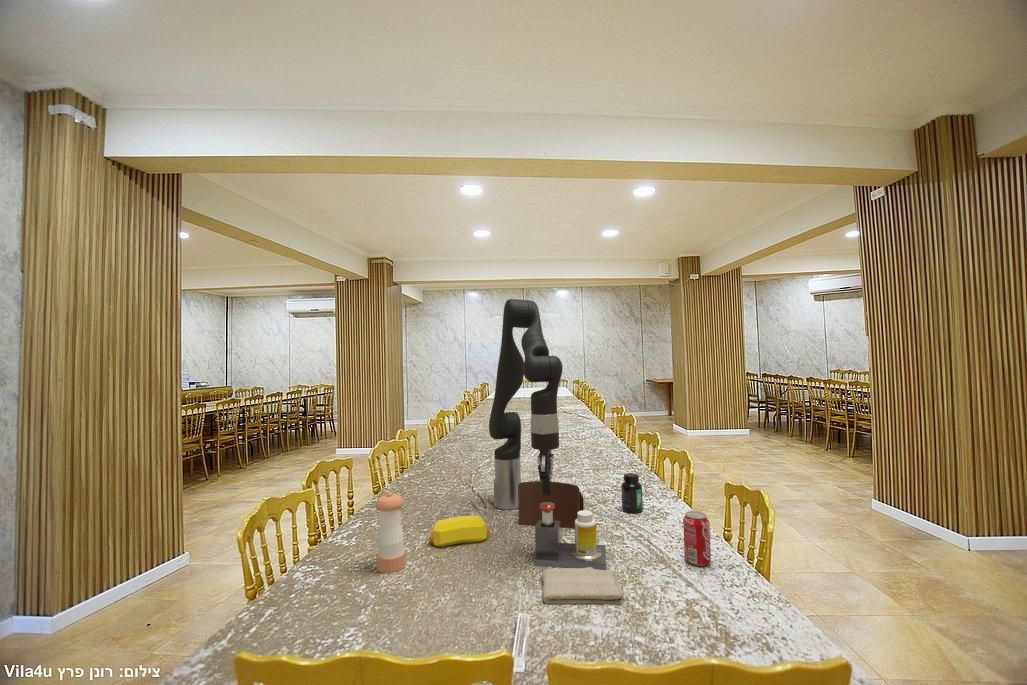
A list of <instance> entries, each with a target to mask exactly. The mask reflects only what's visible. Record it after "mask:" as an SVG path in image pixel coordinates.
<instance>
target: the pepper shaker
mask: <svg viewBox="0 0 1027 685" xmlns="http://www.w3.org/2000/svg"><path fill="white" fill-rule="evenodd" d="M403 506H404V499H403V497H402V496H401V495H400V494H397V493H393V492H391V491H388V492H387V493H386V494H384V495H382V496H380V497H378V498H377V500H376V501H375V508H376V510H378V515H379V517H378V521H379V522H378V526H379V527H378V532H377V533H378V534H377V541H376V542H377V554H376V571H378V572H379V573H383V574H391V573H392V574H393V573H395V572H396V573H397V572H399V571H401V570H403V569H404V568H405V567H406V549H405V548H404V546H405V544H404V534H403V527H402V512H401V508H402V507H403Z"/></svg>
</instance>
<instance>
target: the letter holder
mask: <svg viewBox="0 0 1027 685" xmlns="http://www.w3.org/2000/svg"><path fill="white" fill-rule="evenodd" d="M543 502H551V503H554V504H555V509H554V510H553V521H560V528H565V529H575V520H576V519H577V518H578V517H577V516H578V514H577V513H578V512H579V511H582V510H585V507H584V505H585V504H584V496H583V494H582V492H581V491H580V487H579V486H578V485H576V484H573V483H566V482H560V481H559V482H558V481H553V480H551V495H550V496H544V495H543V494H542V481H540V480H532V481H523V482H522V481H521V483H519V485H518V508H517V509H518V524H519V525H526V526H527V525H528V526H536V524H537V522H538V520H542V510H541V509H540V503H543Z"/></svg>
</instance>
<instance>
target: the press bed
mask: <svg viewBox="0 0 1027 685" xmlns="http://www.w3.org/2000/svg"><path fill="white" fill-rule="evenodd" d="M534 535H535V536H534V538H535V539H534V540H535V541H534V542H535V557H534V560H533V562H534V566H535V567H536V566H537V567H552V568H553V567H554V568H555V567H556V568H587V567H592V568H593V569H597V570H607V549H606V544H597V551H596V553H595V554H593V555H589V556H585V555H581V554H579V553H577V552H576V546H575V543H572V542H571V543H570V542H561V527H560V521H553V527H543V524H542V520H538V522H537V524H536V525H535V527H534Z"/></svg>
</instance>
